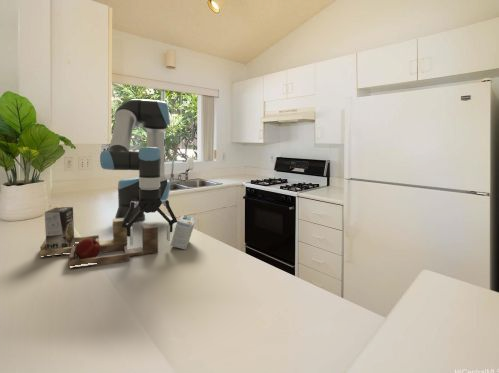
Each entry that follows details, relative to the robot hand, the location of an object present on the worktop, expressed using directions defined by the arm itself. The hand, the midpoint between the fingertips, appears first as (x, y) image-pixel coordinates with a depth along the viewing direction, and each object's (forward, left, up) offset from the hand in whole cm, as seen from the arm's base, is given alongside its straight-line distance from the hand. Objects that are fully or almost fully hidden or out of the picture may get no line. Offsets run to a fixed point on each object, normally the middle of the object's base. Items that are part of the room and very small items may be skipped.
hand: (150, 242), depth 108 cm
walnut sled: (+12, 0, -3) cm, 12 cm away
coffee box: (+31, -14, -4) cm, 34 cm away
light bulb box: (-12, -3, -3) cm, 13 cm away
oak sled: (+22, -14, -3) cm, 26 cm away
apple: (+21, 0, -4) cm, 22 cm away
